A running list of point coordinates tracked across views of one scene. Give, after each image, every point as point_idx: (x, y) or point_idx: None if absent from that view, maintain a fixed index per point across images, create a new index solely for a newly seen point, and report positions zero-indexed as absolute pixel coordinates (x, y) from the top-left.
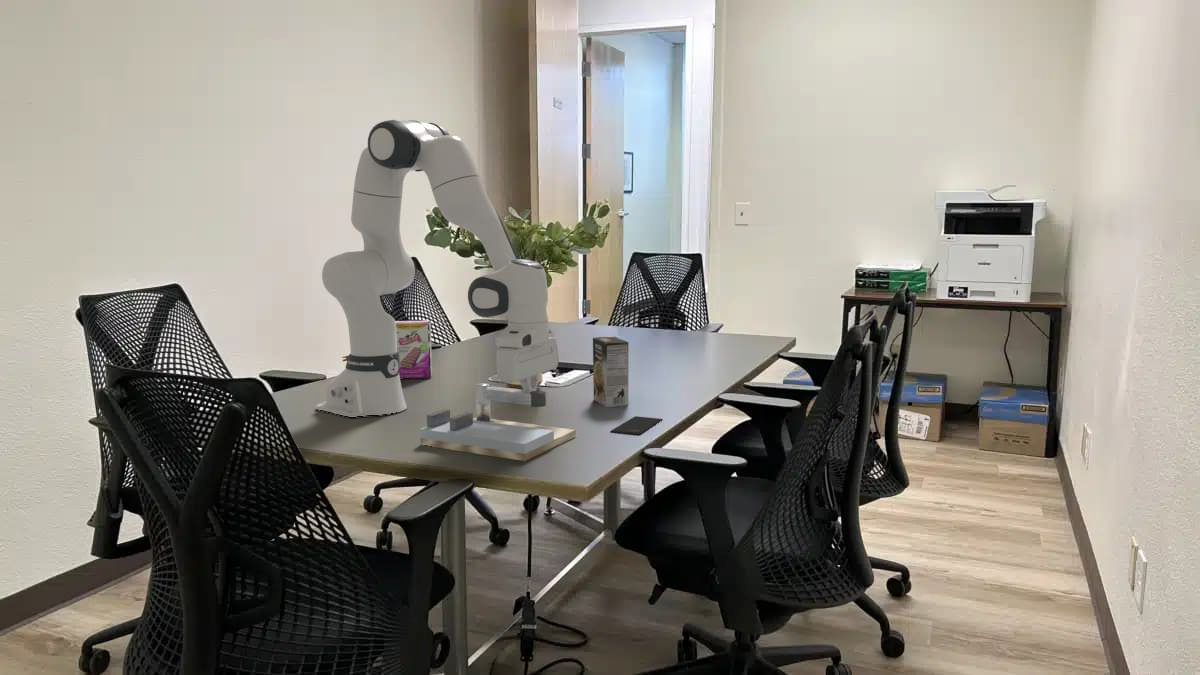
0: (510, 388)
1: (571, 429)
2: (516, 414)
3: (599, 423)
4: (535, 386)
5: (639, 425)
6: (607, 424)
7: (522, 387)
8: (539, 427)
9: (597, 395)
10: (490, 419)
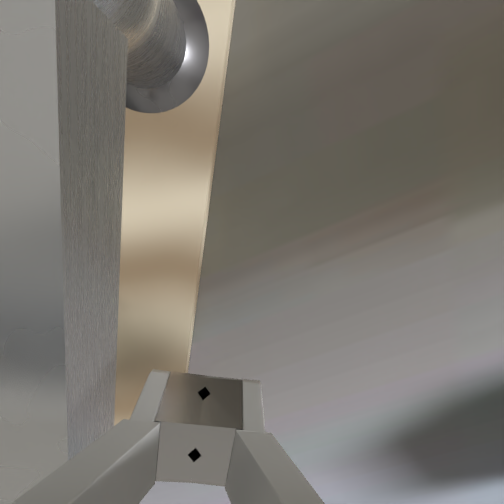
0: (58, 310)
1: None
2: (471, 106)
3: (360, 455)
4: (230, 493)
5: None
6: (351, 476)
7: (112, 430)
8: (155, 356)
9: None
10: (155, 85)
